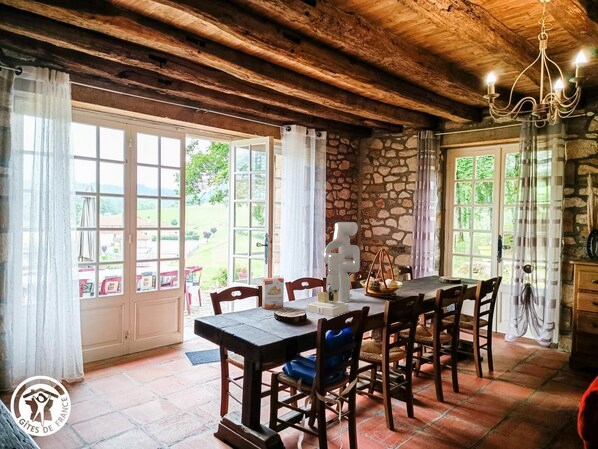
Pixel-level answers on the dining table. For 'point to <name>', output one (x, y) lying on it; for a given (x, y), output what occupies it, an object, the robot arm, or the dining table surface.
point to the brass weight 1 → (323, 297)
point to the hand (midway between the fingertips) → (333, 299)
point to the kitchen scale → (328, 308)
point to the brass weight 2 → (334, 297)
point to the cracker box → (272, 293)
